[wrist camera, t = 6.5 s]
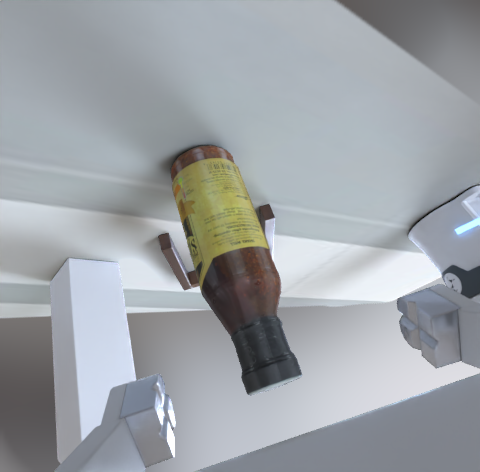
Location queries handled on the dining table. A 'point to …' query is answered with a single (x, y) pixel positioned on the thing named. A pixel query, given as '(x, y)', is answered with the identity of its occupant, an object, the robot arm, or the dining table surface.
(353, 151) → the dining table surface
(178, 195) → the sauce bottle
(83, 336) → the milk
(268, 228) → the bottle bay
